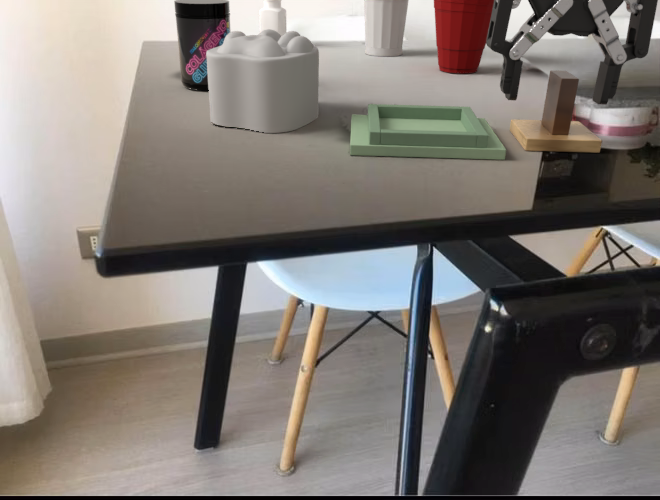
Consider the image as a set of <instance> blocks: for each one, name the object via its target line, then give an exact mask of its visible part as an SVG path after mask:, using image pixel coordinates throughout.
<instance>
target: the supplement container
mask: <svg viewBox="0 0 660 500" xmlns="http://www.w3.org/2000/svg"><path fill="white" fill-rule="evenodd" d="M173 3H174V12H175V13H174V16H175V21H176V22H175V24H176V37H177V44H178V45H177V48H178V58H179V59H178V60H179V69H180V70H179V71H180V80H181V84H182V86H183V87H184V88H185V87H187V88H191V89H197V90H209V89H208V74H207V58H206V52H207V51H208V50H210V49H212V48H215V47H219V46H221V45H222V44H223V42H224V39H225V37H226V36H227V34H229V33H230V32H232V31H231V9H230V7H231V6H230V0H174V1H173ZM187 88H186V89H187Z"/></svg>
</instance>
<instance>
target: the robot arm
mask: <svg viewBox="0 0 660 500" xmlns="http://www.w3.org/2000/svg"><path fill="white" fill-rule="evenodd" d="M521 1H522V0H494V4H493V9H492V14H491V19H490V24H489V29H488V35H487V40H486V46H487V47H488V48H489V49H490V50H491V51H492V52H495V53H497V54H500V55H502V58H503V62H502V68H501V76H500V80H499V81H500V82H499V87H500V91H501V93H503V94H504V97H505V99H506V100H508V101H517V99H518V94H519V90H520V89H519V88H520V83H521V77H522V69H523V64H524V61H523V60H521V58H522V57H523V56H524V55H525V54H526V53H527V52H528V51H529V49H530V48H531V47H532V46H533V45H534V44H535V43H538V42H539V41H540V40H541V39H542V38H543V37H544V36H545V35H546V33H548V34H550V35H552V36H560V37H561V36H567V35H574V36H578V37H583V38H584V37H585V38H587V37H589V36H590V35H591V36H592V38H593V40H594V41H595V42H596V43H597V45H598V47H599V49H600V51H601V53H602V55H603V57H604V60H601V61H600V62H599V66H598V70H597V75H596V76H597V77H596V79H595V80H596V81H595V84H594V90H593V95H592V101H593V102H594V103H595V104H597V105H602V106H604V105H605V106H606V105H608V103H609V99H611V100H612V99H613V98H614V97H615V95H616V93H617V89H618V85H619V80H620V77H621V72H622V68H623V66H624V65H625V63H627V62H628V61H631V60H635V59H644V58H645V57H646V56H648V54H649V50H650V44H651V40H652V35H653V28H654V23H655V17H656V12H657V8H658V3H659V2H658V1H659V0H527V1H528V3H529V6H530V7H531V9H532V11H533V13H532V14H531V15H530V16H529V17H528V18H527V20H525V22H524V23H523V24H522V25H521V26H520V27H519V30H518V32H516V33H515V35H514V36H513V37H512V38H511V39H510V40H507V39H506V37H507V33H508V29H509V24H510V19H511V14H512V10H514V9H517V8H518V7H519V6H520V4H521ZM624 2H625V7H626V11H627V12H628V13H630V16H629V21H628V26H627V33H626V38H625V43H624V44H622V43H621V40H620V35H619V33H618V31H617V29H616V27H615V25H614V23H613V21H612V19H611V16H612V15H613V14H614V13H615V12H616V11H617V10H618V9H619V8H620V7H621V6H622V4H623V3H624Z"/></svg>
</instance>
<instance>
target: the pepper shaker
mask: <svg viewBox="0 0 660 500" xmlns="http://www.w3.org/2000/svg"><path fill="white" fill-rule="evenodd" d="M258 23H259V26H258V27H259V33H260V32H262V31H264V30H267V29H271V30H274V31H276V32H278V33H279V34H280V35H281V36H282V35H284V34H285V33H287V32H288V31H287V9H286V8H283V7H282V0H263V7H262V8H260V9H259V10H258Z"/></svg>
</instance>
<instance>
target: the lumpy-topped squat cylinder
mask: <svg viewBox="0 0 660 500" xmlns="http://www.w3.org/2000/svg"><path fill="white" fill-rule="evenodd" d="M286 32H287V33H285V34H284V35H282V36H281V35H280V34H279V33H278V32H276V31H274V30H271V29H267V30H264V31H262V32H260V31H259V33H258V34H250V35H246V34H245V32H243V31H240V30H233V31H231V32H230V33H229V34H227V36H226V37H225V39H224V42H223V44H222V45H221V46H219V47H215V48H212V49H210V50H208V51H207V52H206V58H207V74H208V89H209V91H208V103H209V118H210V123H211V122H213V123H215V124H217V125H222V126H229V127H239V128H245V129H250V130H249V131H251V130H254V131H253V132H256V131H259V132H258V133H262V132H264V134H280V133H288V132H291V131H295V130H298V129H300V128H302V127H304V126H306V125H308V124H311V123H312V122H314V120H316V119H317V118H318V117H319V92H320V91H319V87H320V86H319V85H320V83H319V81H320V80H319V79H320V77H319V76H320V75H319V73H320V72H319V71H320V70H319V69H320V51H319V48H318V47H317V46H316V45H315V44H314V43H313V42H312V41H311V39H309V38H308V37H306V36H304V35H301V33H299V32H298V31H296V30H289V31H286ZM245 129H244V130H245Z"/></svg>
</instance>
